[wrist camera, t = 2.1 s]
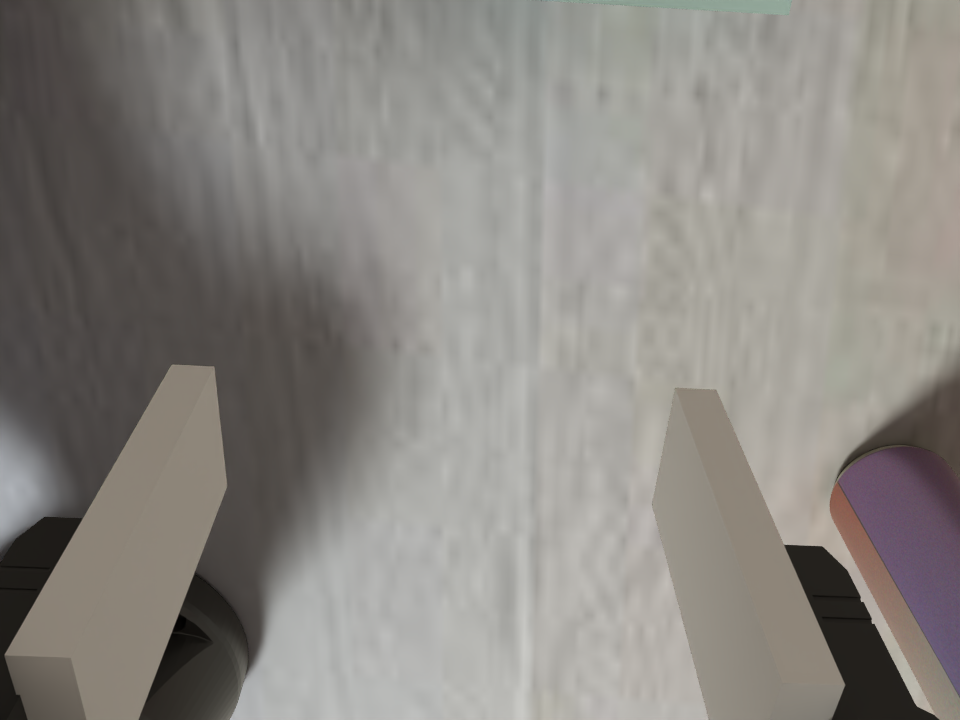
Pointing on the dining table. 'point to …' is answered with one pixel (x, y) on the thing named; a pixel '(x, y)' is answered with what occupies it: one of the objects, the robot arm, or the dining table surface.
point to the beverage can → (909, 557)
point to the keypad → (705, 5)
